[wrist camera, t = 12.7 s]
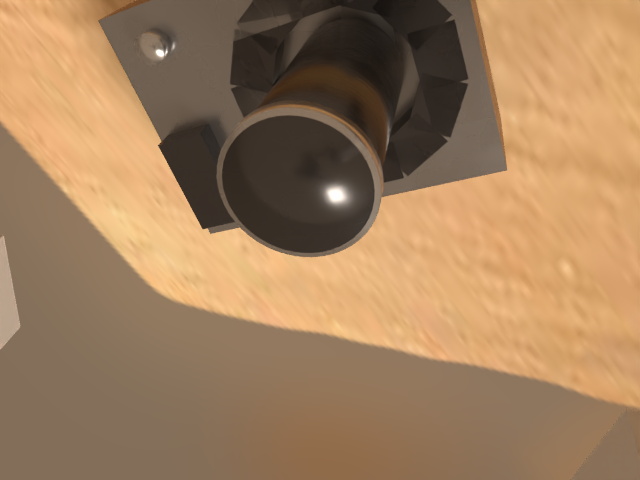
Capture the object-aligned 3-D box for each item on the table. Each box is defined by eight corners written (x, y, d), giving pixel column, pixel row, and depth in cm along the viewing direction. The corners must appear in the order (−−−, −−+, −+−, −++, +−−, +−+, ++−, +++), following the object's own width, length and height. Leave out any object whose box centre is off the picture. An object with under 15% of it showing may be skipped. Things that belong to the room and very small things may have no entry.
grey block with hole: (153, -9, 32) (84, 27, 26) (448, -126, 27) (444, -112, 21) (242, 181, 38) (202, 245, 32) (500, 118, 32) (508, 182, 27)
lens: (286, 112, 30) (211, 234, 21) (303, 1, 26) (222, 90, 18) (391, 138, 29) (360, 274, 21) (421, 29, 26) (400, 135, 17)
